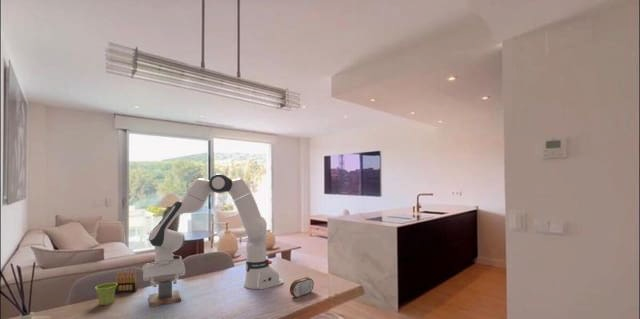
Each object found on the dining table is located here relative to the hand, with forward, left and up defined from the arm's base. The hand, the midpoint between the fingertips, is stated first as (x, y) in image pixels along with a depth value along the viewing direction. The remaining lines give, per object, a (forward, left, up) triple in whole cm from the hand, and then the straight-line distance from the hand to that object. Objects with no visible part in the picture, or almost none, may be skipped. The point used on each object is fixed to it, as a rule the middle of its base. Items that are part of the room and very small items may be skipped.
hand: (165, 284), depth 168 cm
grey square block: (0, 0, -6) cm, 6 cm away
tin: (-64, +30, -8) cm, 71 cm away
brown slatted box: (+18, -24, -8) cm, 31 cm away
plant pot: (+26, -10, -8) cm, 29 cm away
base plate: (0, 0, -7) cm, 7 cm away
